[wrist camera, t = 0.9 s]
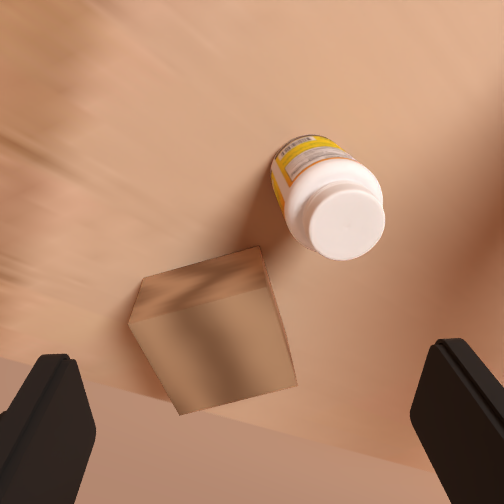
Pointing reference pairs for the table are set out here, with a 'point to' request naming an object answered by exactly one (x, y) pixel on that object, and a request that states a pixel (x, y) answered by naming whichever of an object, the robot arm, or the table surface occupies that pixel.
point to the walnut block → (213, 332)
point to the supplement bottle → (327, 198)
